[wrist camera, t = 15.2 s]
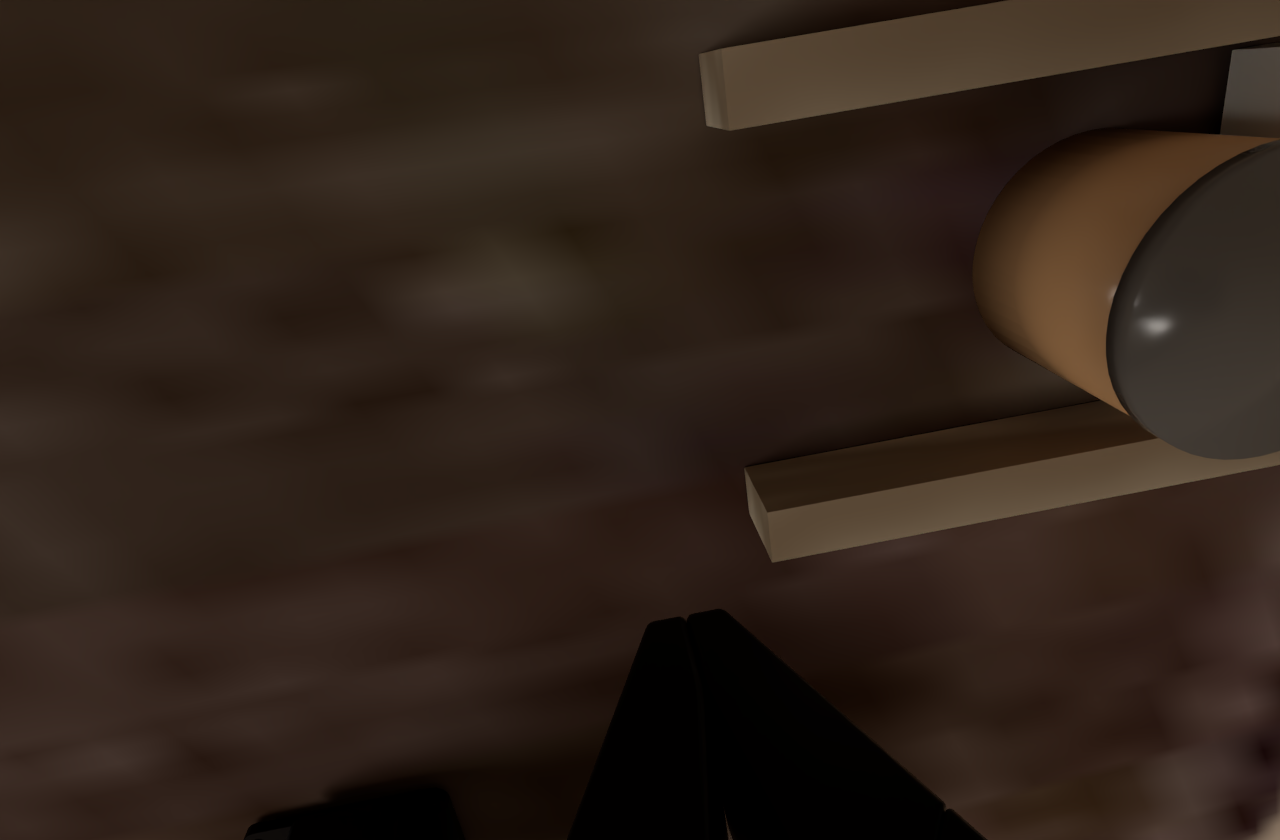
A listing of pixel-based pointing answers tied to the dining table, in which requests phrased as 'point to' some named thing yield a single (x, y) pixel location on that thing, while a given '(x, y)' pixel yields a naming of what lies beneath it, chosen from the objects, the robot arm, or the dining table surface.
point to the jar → (1147, 280)
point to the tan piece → (1001, 449)
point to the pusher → (1253, 93)
